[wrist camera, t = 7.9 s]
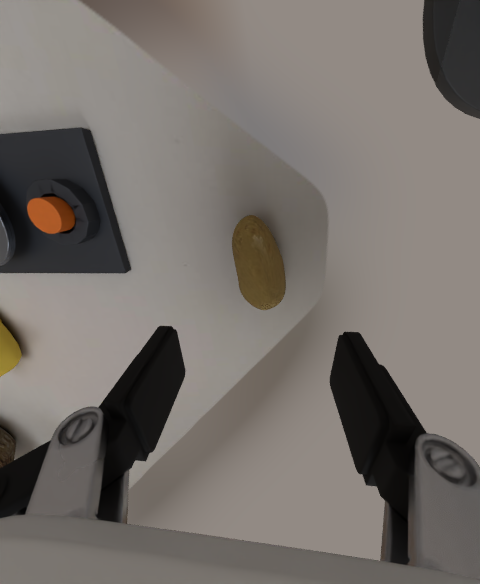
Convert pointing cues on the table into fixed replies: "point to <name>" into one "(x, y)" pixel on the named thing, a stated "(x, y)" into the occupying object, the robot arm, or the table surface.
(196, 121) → the table surface
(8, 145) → the scale
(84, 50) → the table surface
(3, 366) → the teapot
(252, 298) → the potato
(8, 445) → the bowl
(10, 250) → the scale pan
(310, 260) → the table surface
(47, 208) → the button
